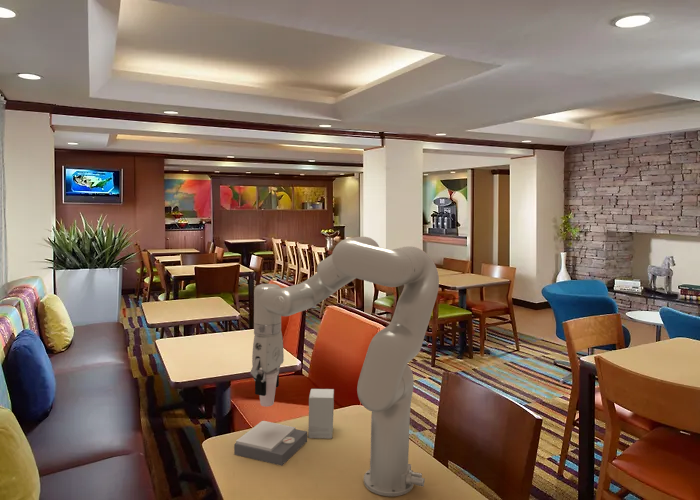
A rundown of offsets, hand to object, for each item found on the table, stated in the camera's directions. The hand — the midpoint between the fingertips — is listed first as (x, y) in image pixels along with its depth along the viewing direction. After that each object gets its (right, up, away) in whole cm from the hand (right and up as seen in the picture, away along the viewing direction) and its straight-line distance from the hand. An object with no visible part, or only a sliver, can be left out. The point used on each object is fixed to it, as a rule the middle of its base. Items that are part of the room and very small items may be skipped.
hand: (267, 389), depth 144 cm
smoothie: (0, -4, 0) cm, 4 cm away
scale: (+1, -17, +1) cm, 17 cm away
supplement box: (+15, -16, +11) cm, 24 cm away
